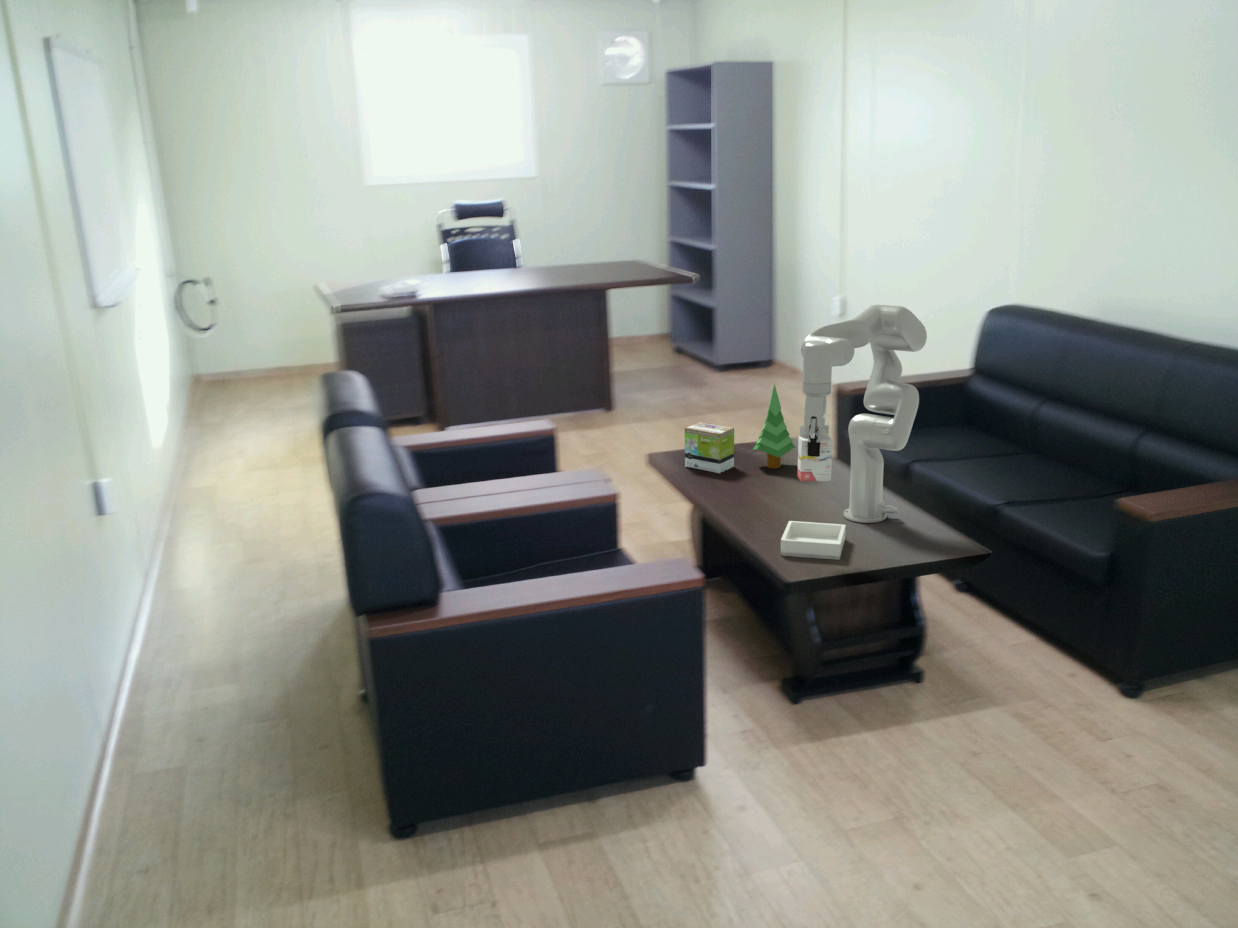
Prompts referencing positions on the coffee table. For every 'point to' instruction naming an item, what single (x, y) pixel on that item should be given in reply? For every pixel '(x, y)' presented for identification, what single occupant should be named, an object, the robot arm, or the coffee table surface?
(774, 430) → the decorative tree
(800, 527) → the box
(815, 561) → the coffee table surface
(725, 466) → the tea box
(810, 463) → the ink cartridge box
